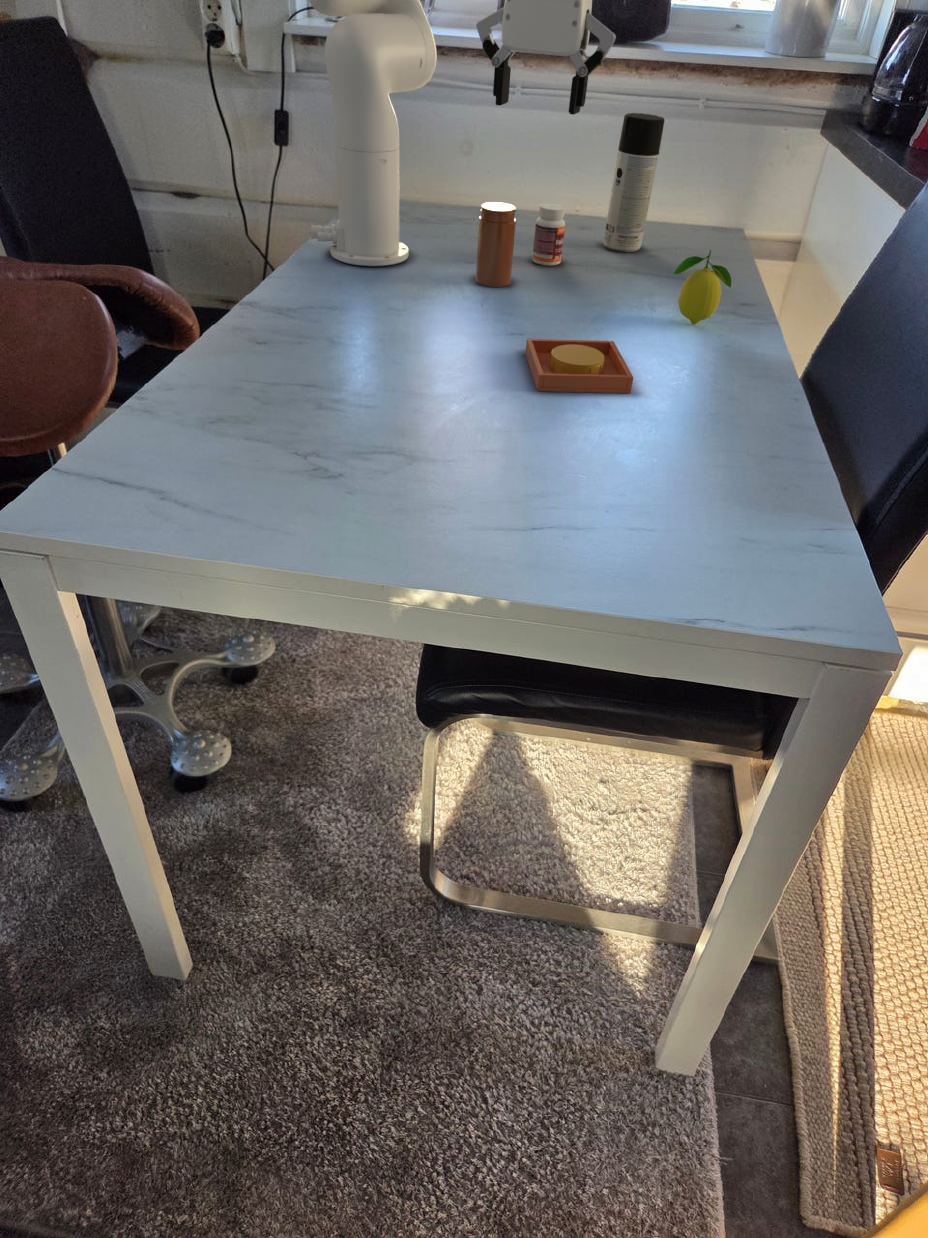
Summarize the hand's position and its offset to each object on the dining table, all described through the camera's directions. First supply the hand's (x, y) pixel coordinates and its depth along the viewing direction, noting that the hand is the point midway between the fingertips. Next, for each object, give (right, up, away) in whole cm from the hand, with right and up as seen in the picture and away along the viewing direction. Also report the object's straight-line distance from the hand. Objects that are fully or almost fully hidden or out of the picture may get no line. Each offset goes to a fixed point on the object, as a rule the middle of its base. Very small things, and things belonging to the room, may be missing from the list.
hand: (537, 108), depth 105 cm
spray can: (+18, 0, +41) cm, 45 cm away
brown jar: (-5, -13, +22) cm, 26 cm away
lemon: (+23, -23, +12) cm, 35 cm away
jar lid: (+4, -33, -5) cm, 34 cm away
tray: (+4, -35, -3) cm, 35 cm away
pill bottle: (+4, -6, +32) cm, 32 cm away
